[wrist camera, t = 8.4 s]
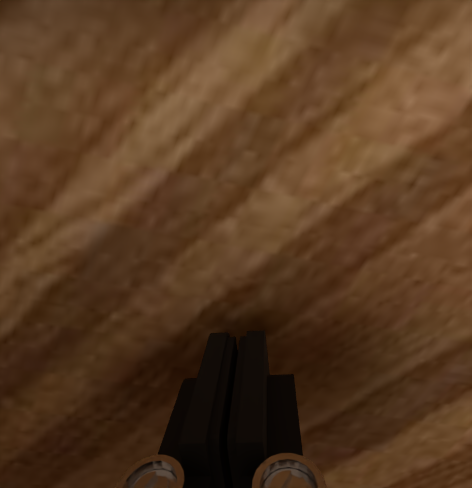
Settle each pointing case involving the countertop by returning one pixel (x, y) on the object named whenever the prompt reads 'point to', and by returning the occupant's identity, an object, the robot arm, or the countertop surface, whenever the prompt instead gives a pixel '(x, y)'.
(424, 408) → the countertop surface
